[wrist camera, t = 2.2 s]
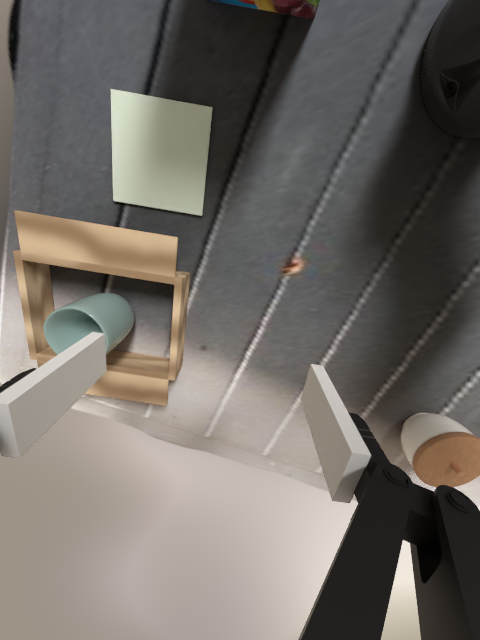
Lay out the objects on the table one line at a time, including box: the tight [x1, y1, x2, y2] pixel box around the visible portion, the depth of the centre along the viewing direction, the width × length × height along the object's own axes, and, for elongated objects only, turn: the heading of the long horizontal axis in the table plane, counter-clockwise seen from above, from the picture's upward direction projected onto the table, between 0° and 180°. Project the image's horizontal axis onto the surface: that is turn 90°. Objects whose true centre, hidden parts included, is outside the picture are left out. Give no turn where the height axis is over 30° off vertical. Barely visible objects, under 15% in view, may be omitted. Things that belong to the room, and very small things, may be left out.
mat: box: [111, 89, 213, 216], centre depth 31 cm, size 12×12×1 cm
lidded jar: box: [401, 413, 480, 487], centre depth 41 cm, size 11×11×9 cm
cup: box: [44, 293, 135, 355], centre depth 34 cm, size 8×8×10 cm
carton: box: [13, 210, 190, 406], centre depth 37 cm, size 26×22×4 cm
